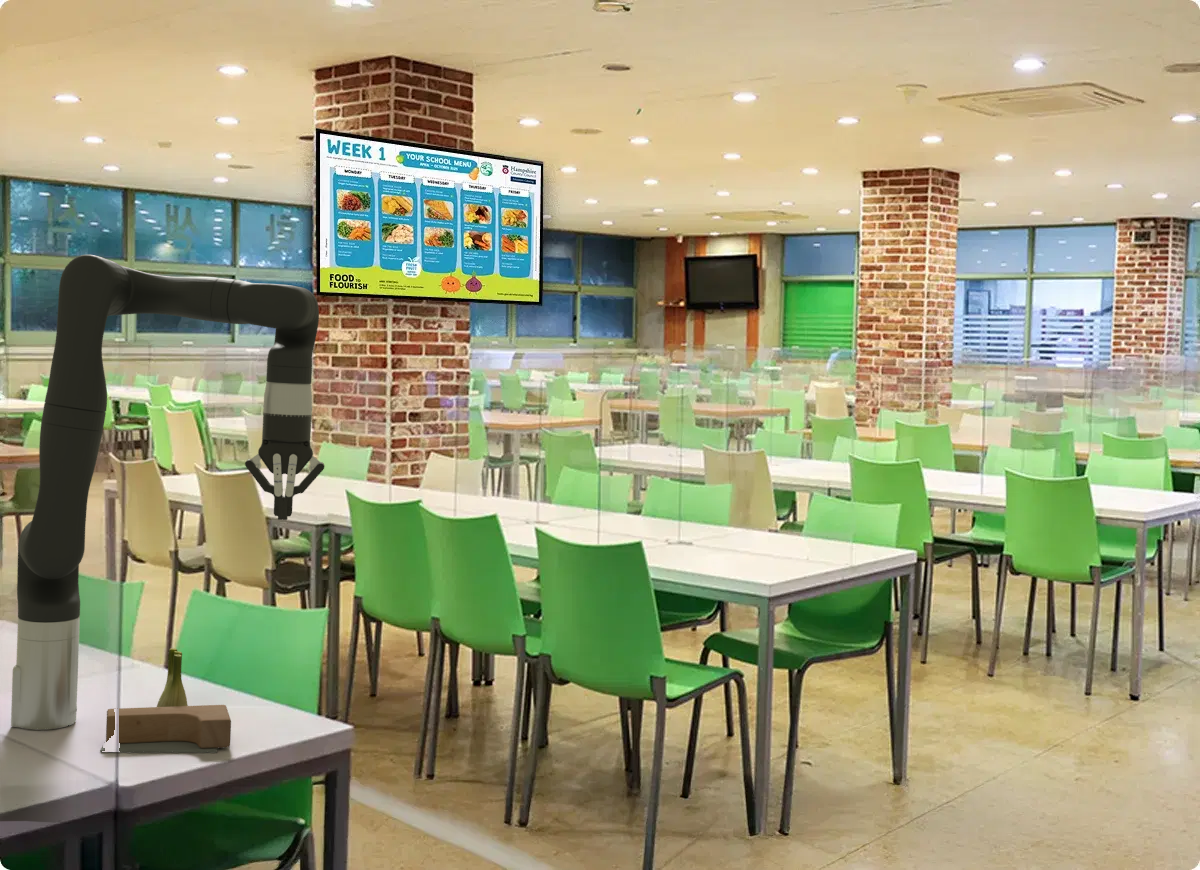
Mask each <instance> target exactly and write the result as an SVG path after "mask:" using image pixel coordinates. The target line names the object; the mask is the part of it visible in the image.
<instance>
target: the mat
mask: <svg viewBox="0 0 1200 870" xmlns="http://www.w3.org/2000/svg"><path fill="white" fill-rule="evenodd" d="M218 749H219V748H204V749H202V748H200V747H199V746H198V745H197V744H196V743H191V742H182V741H169V742H146V743H124V744H120V748H119V751H120V753H119V754H122V753H124V754H128V753H129V754H132V753H133V754H134V753H140V754H141V753H142V754H144V753H145V754H146V753H148V754H149V753H151V754H154V753H155V754H157V753H158V754H163V753H166V754H168V753H169V754H170V753H171V754H173V753H174V754H175V753H176V754H177V753H180V754H181V753H183V754H185V753H187V754H189V753H193V754H194V753H195V754H197V753H200V754H202V753H205V754H206V753H207V754H209V753H213V754H215V753H216V754H217V753H218ZM102 751H105V748H103V745H102V746H101V747H100V750H99V753H100V752H102Z"/></svg>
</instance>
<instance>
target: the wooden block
mask: <svg viewBox="0 0 1200 870" xmlns="http://www.w3.org/2000/svg"><path fill="white" fill-rule="evenodd" d="M114 709H115V708H108V709H107V711H106V723H105V724H106V727H105V731H106V732H105V741H106V742H107V741H108V740H109V738H111V736H113V735H114V730H115V712H114ZM231 728H232V719H231V717H230V714H229V711H228V708H227V704H206V705H205V704H202V705H200V704H199V705H188V706H174V707H157V706H154V707H152V706H149V707H127V708H126V707H124V708H123V707H121V708H119V743H120V744H124V743H146V742H169V741H182V742H191V743H196V744H197V745H198V746H199V747H200V748H202V749H204V748H218V749H222V748H229V747H230V746H231V735H232V734H231V733H232V732H231V731H232V729H231Z"/></svg>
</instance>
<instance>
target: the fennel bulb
mask: <svg viewBox="0 0 1200 870" xmlns="http://www.w3.org/2000/svg"><path fill="white" fill-rule="evenodd" d="M182 657H183V652H182V651H179V650H178V649H177V648H174V647H172V648H169V650H168V660H167V661H168V664H167V666H168V667H167V676H166V677H167V678H166V682H165V684H164V685H165V686H164V687H163V691H162V693H161V695H160V697H159V698H158V699H159V700H158V702H157V703H156V704H157V705H156V707H174V706H189V705H188V700H187V699H188V698H187V694H186V690H185V687H184V683H183V681H182V680H183V679H182V666H183V665H182V664H183V662H182V661H183V658H182Z"/></svg>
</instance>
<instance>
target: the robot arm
mask: <svg viewBox="0 0 1200 870" xmlns="http://www.w3.org/2000/svg"><path fill="white" fill-rule="evenodd" d="M58 287H59V288H58V298H57V299H58V300H57V302H58V303H57V320H56V324H57V325H56V333H55V335H56V336H55V344H54V350H53V355H52V361H51V365H50V372H49V377H48V378H49V379H48V384H47V389H46V394H45V399H44V404H43V409H42V416H41V421H40V422H41V423H40V429H39V430H40V432H39V449H38V452H39V454H38V455H39V456H38V457H39V461H38V462H39V486H38V487H39V488H38V494H37V499H36V503H35V508H34V512H33V515H32V519H31V521H30V522H28V523H27V525H25V526H24V528H23V529H22V531H21V532H20V536H19V537H18V547H17V570H16V571H17V575H16V577H17V579H16V581H17V582H16V583H17V584H16V595H17V596H16V597H17V632H16V633H17V636H16V637H17V638H16V641H17V642H16V659H15V660H16V664H15V665H14V666H13V667H12V668H13V669H12V679H11V681H12V682H11V689H12V690H11V709H10V710H11V713H10V715H11V716H10V727H11V726H12V727H11V728H20V729H21V728H22V729H27V730H36V731H37V730H42V731H43V730H55V729H60V728H65V727H68V725H69V726H71V725H74V724H75V723H74V722H75V721H76V722H77V712H78V711H77V710H78V706H77V705H78V704H77V703H78V678H79V677H78V676H79V670H78V669H79V655H80V654H79V651H80V649H79V648H80V624H81V623H80V622H81V619H80V617H81V598H80V587H79V571H80V564H81V562H82V560H83V557H84V555H85V548H86V547H85V545H86V523H87V522H86V521H87V509H88V508H87V507H88V498H89V491H90V487H91V483H92V480H93V476H94V472H95V468H96V464H97V459H98V455H99V450H100V446H101V441H102V437H103V432H104V426H105V420H106V414H107V413H106V412H107V408H108V407H107V406H108V390H107V389H108V388H107V382H106V381H107V379H106V375H105V368H104V363H103V342H104V341H103V339H104V335H105V329H106V325H107V324H106V323H107V319H108V317H109V316H110V317H111V316H122V315H137V314H150V315H151V314H152V315H153V314H154V315H155V314H156V315H166V316H167V315H169V316H176V317H180V318H181V317H182V318H186V319H188V318H189V319H194V320H200V321H207V322H213V323H224V324H233V325H252V326H253V325H254V326H258V327H259V326H260V327H265V328H270V329H271V328H272V329H275V335H274V341H273V342H274V343H273V346H272V347H271V348H270V349H269V350H268V354H267V359H266V379H265V380H266V381H265V390H264V394H263V405H262V406H263V407H262V409H263V413H262V433H261V435H262V436H261V437H262V438H261V444H260V447H259V448H258V451H257V452H258V453H256V454H255V455H254V456H253V457H251V458H248V459H247V460H246V461H245V463H244V465H245V467H246V468H247V470H248V471H249V473H250V474H251V475H252V477H253V478H254V480H255V481H256V482H257V484H258V485H259V486H260V487H261V489H262V490H263V492H264V493H265V492H266V493H269V494H271V495H273V514H274V517H277V520H278V521H287V520H288V517H291V516H292V514H293V501H294V500H293V499H294V496H296V495H300V494H304V493H305V491H306V490H307V489H308V488H309V486H311V484H312V483H313V482H314V481H315V480H316V479H317V477H319V475H320V474H321V473H322V472H323V470H325V467H326V466H325V463H324V462H323V461H320V460H319V459H317V458H316V457H315V455H314V451H313V449H312V447H311V433H312V416H313V415H312V413H313V392H312V378H313V377H312V376H313V353H314V348H315V344H316V338H317V334H318V328H319V321H320V320H319V319H320V309H319V303H318V299H317V298H316V296H315V295H314V293H312V292H311V291H310V290H309V289H307V288H305V287H301V286H295V285H290V284H289V285H288V284H279V283H260V282H259V283H257V282H256V283H255V282H250V281H245V280H240V279H234V278H233V279H231V278H223V277H213V276H212V277H211V276H169V275H167V276H166V275H160V274H153V273H148V272H144V271H140V270H137V269H134V268H130V267H126V266H124V265H120V264H119V263H117V262H115V261H113V260H110V259H107V258H104V257H101V256H98V255H93V254H82V255H78V256H76V257H74V258H73V259H71V260H70V261H69V263H67V265H66V266H65V267H64V269H63V271H62V273H61V276H60V279H59V286H58ZM261 461H262V462H263V463H264V465H265V466H266V468H267V469H268V471H269V472H270V473H271V474H272V475H273V484H271V483H270V482H269V480H268V479H267V477H266V476H265V475H264V473H263V472H262V471H261V467H262V463H261ZM308 463H310V464H309V466H308V470H309V473H308V474H307V475H306V476H305V477H304V478H303V480H302V481H301V482H300V483H299V484H297V485H295V482H296V475H298V474H300V473H301V472H302V470H303V469H304V468H305V467H306V465H308ZM283 475H287V476H286V485H285V491H284V493H283V489H284V488H283V487H284V486H283ZM283 494H284V495H283Z"/></svg>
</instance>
